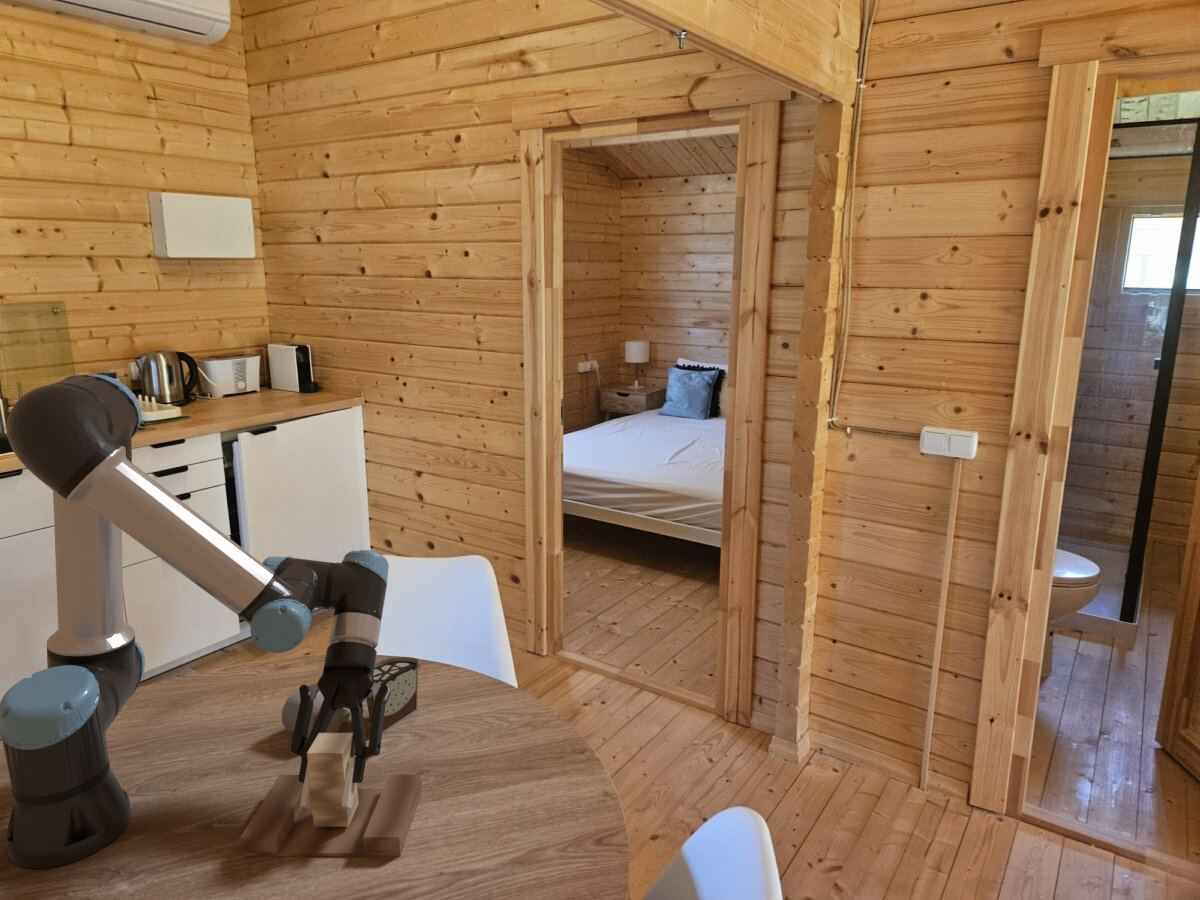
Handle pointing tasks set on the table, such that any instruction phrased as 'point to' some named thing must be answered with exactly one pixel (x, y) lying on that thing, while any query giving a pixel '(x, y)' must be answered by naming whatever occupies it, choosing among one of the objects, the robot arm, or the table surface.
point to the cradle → (369, 832)
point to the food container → (396, 688)
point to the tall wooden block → (330, 779)
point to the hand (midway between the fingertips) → (326, 807)
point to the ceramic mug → (292, 711)
